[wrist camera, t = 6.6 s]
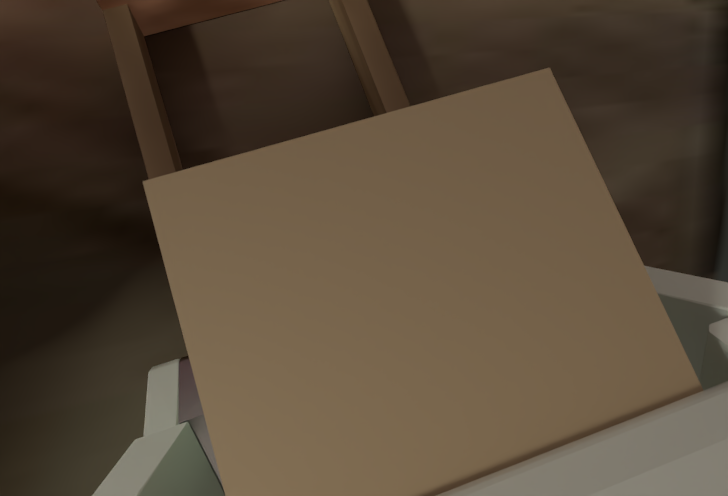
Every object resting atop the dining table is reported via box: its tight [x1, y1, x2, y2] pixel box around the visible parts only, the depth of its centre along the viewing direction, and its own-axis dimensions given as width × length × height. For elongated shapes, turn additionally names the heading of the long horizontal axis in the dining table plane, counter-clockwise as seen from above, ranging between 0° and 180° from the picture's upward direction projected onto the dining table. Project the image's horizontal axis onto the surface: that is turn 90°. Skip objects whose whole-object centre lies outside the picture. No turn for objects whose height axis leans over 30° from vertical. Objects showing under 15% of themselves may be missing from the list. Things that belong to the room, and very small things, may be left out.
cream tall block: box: [142, 67, 703, 496], centre depth 11 cm, size 5×5×9 cm
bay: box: [97, 0, 410, 179], centre depth 25 cm, size 12×23×5 cm, turn 19°
